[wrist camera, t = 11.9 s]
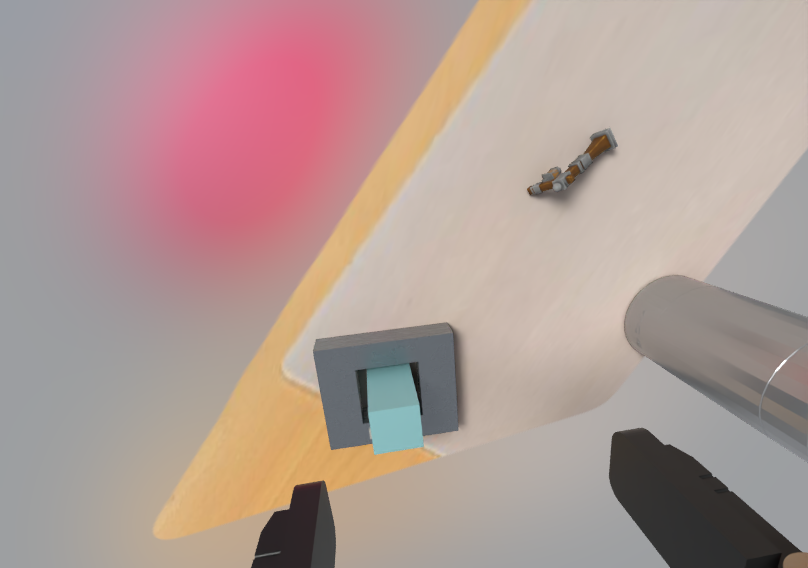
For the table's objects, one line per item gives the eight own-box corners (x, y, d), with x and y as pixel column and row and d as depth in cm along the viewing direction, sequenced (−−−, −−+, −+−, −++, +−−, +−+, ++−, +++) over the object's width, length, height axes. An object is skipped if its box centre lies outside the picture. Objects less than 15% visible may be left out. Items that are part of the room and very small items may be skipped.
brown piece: (517, 189, 33) (558, 177, 29) (568, 143, 36) (612, 126, 32) (526, 206, 34) (568, 197, 30) (576, 159, 36) (620, 145, 32)
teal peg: (407, 357, 38) (419, 404, 30) (411, 392, 39) (423, 446, 32) (366, 363, 38) (368, 412, 30) (371, 398, 39) (374, 454, 31)
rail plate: (447, 322, 37) (453, 333, 35) (452, 415, 41) (458, 431, 38) (316, 339, 36) (312, 351, 34) (332, 433, 40) (330, 450, 37)
